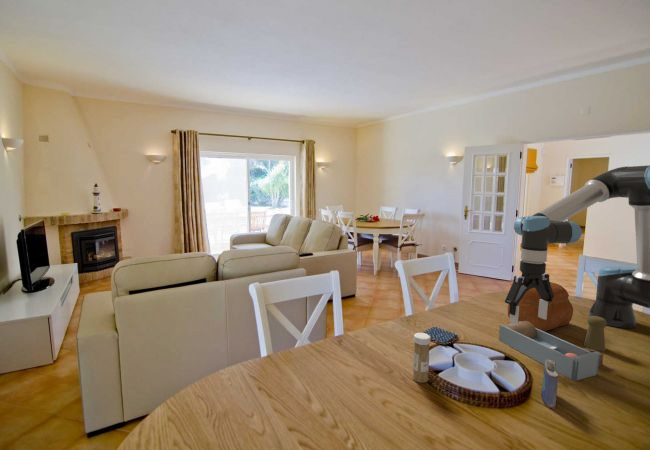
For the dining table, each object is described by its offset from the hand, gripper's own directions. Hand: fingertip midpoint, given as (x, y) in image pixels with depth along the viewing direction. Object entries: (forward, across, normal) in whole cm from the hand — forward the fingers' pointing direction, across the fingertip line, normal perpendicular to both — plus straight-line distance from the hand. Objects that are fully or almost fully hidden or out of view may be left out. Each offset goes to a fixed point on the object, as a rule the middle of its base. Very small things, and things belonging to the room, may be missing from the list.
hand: (528, 320), depth 117 cm
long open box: (+10, 0, +6) cm, 12 cm away
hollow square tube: (+10, -11, +15) cm, 21 cm away
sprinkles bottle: (+10, +47, +4) cm, 48 cm away
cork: (+10, -23, +8) cm, 26 cm away
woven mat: (+10, +24, -16) cm, 31 cm away
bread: (+10, -24, -14) cm, 30 cm away
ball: (+7, 0, +16) cm, 17 cm away
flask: (+10, +20, +23) cm, 32 cm away
